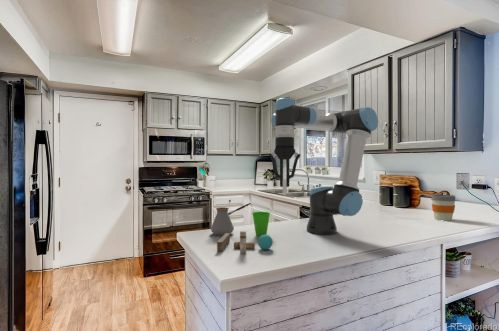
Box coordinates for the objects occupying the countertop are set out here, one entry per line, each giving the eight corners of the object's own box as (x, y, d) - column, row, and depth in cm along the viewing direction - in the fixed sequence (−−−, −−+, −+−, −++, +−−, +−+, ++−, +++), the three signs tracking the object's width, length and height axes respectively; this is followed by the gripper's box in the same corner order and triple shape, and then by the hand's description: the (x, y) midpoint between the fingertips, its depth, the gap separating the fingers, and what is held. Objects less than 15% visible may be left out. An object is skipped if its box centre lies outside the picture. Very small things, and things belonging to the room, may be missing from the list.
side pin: (246, 252, 111) (246, 230, 111) (245, 254, 109) (245, 232, 109) (240, 252, 112) (240, 230, 112) (239, 254, 109) (239, 232, 109)
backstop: (229, 242, 126) (229, 233, 125) (222, 252, 112) (222, 242, 112) (225, 242, 126) (225, 233, 126) (217, 251, 112) (217, 241, 112)
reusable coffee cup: (434, 220, 171) (434, 196, 171) (428, 217, 183) (428, 194, 183) (458, 222, 168) (459, 197, 167) (451, 218, 179) (451, 194, 179)
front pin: (254, 241, 117) (234, 240, 118) (254, 244, 115) (233, 244, 116) (254, 246, 118) (234, 245, 119) (254, 250, 116) (233, 249, 117)
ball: (258, 232, 118) (258, 246, 119) (257, 237, 112) (257, 252, 113) (272, 232, 118) (272, 246, 118) (272, 237, 112) (272, 252, 112)
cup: (248, 236, 136) (248, 213, 135) (257, 232, 144) (256, 210, 143) (265, 238, 131) (265, 215, 131) (273, 234, 139) (273, 212, 139)
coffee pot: (213, 238, 133) (213, 206, 133) (208, 232, 144) (208, 203, 144) (255, 234, 140) (255, 204, 139) (248, 229, 150) (248, 201, 150)
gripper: (267, 136, 112) (267, 195, 112) (301, 135, 110) (301, 196, 110) (269, 138, 119) (269, 193, 119) (300, 137, 117) (300, 194, 117)
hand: (284, 194), depth 115 cm, fingers closed
